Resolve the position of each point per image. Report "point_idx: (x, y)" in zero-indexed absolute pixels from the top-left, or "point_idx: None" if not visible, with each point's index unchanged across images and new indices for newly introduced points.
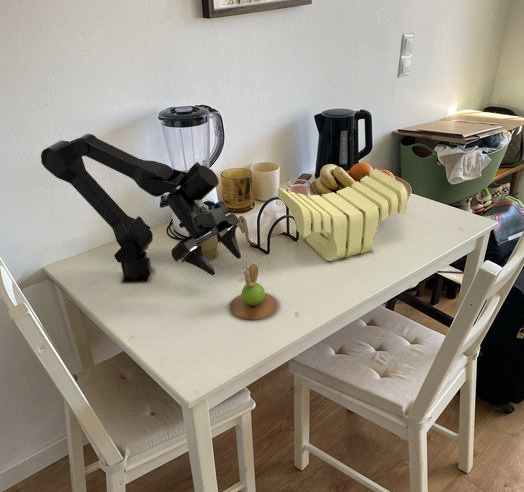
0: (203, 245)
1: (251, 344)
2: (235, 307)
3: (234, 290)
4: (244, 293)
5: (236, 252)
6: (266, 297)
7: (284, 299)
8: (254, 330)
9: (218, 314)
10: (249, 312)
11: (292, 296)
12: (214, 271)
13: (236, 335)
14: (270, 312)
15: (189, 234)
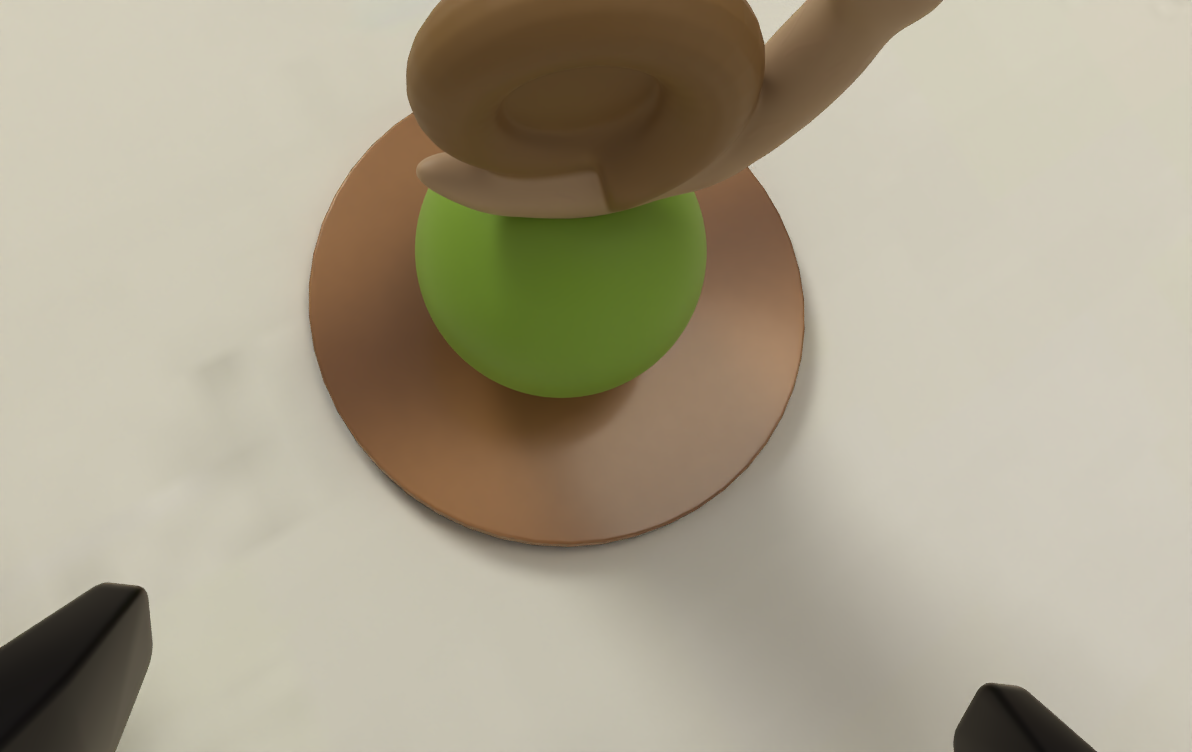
0: None
1: (1020, 77)
2: (707, 437)
3: (368, 679)
4: (699, 279)
5: (66, 717)
6: (385, 234)
7: (303, 91)
8: (868, 132)
9: (855, 558)
10: (708, 264)
11: (216, 42)
12: (1020, 707)
13: (1004, 232)
14: None
15: None
